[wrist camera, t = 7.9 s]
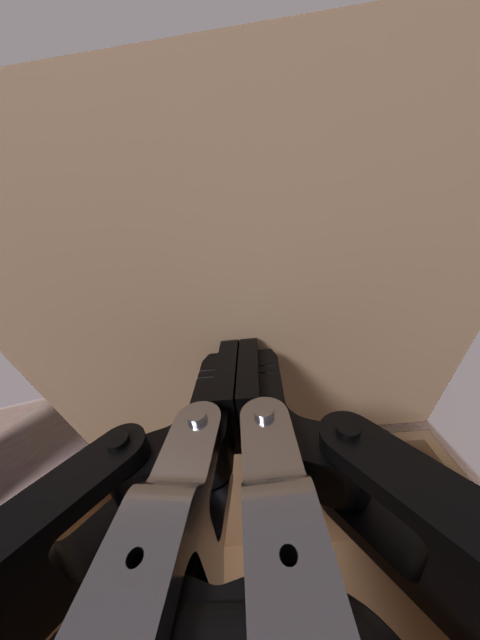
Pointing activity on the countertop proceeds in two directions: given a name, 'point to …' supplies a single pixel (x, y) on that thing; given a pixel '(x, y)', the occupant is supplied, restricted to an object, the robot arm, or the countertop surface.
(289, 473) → the robot arm
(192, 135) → the carton flap
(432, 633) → the carton
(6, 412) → the countertop surface
